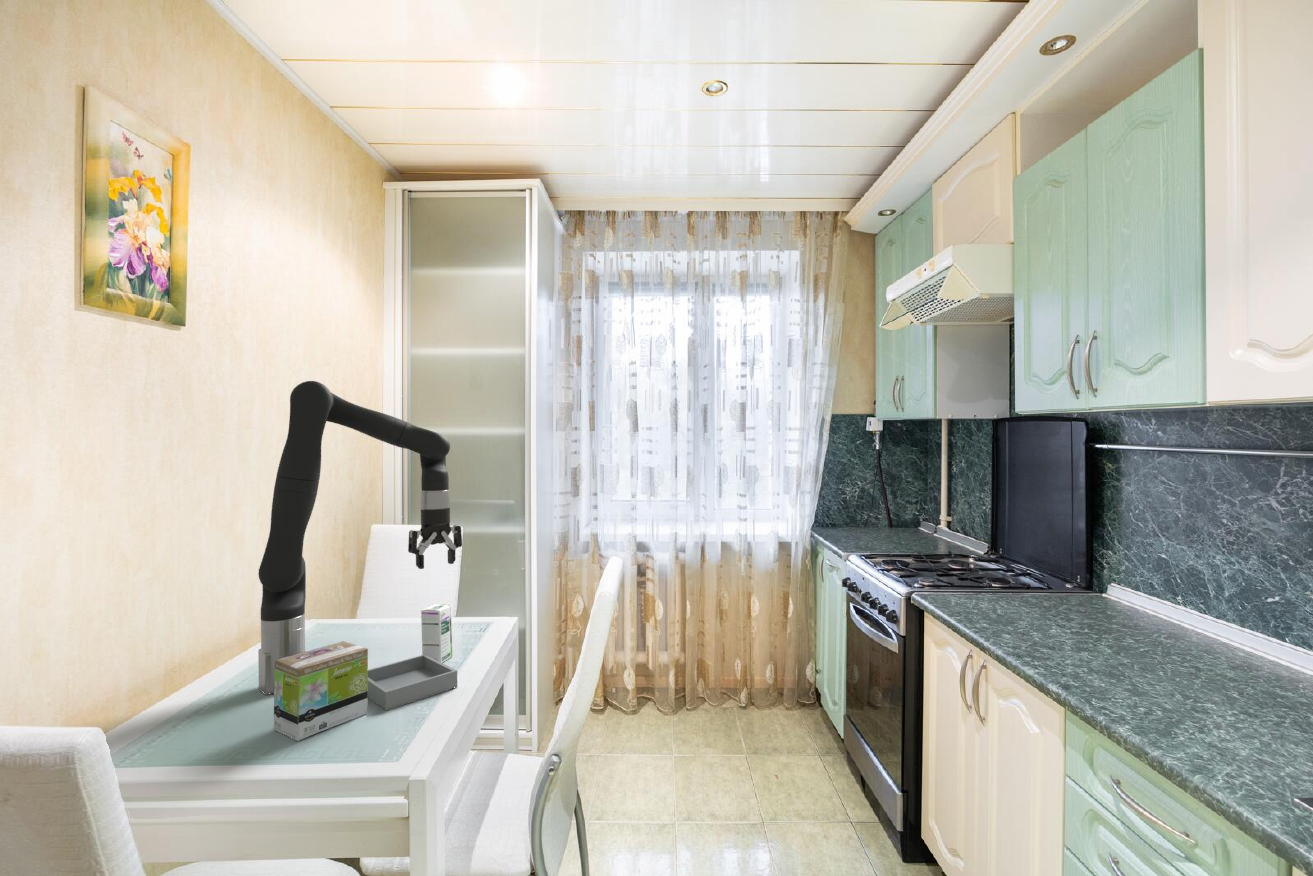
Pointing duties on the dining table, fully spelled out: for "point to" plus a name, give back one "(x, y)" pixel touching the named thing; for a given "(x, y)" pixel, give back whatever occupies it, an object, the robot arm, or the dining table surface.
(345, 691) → the tea box
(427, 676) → the tray
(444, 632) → the syrup box
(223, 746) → the dining table surface
